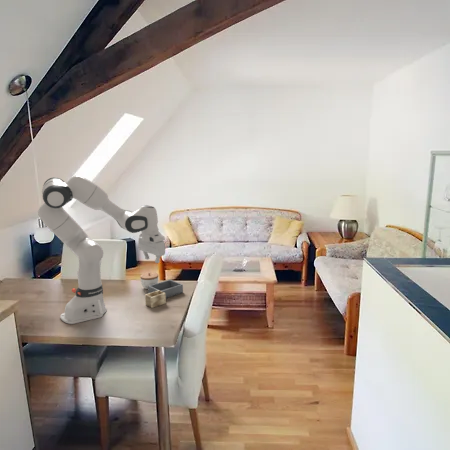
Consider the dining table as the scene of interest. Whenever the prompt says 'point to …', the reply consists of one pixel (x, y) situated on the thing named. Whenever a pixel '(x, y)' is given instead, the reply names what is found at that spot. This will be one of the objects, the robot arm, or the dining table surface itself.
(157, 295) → the pine crate
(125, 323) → the dining table surface
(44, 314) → the dining table surface
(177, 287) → the grey crate
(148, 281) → the lidded jar
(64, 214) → the robot arm
